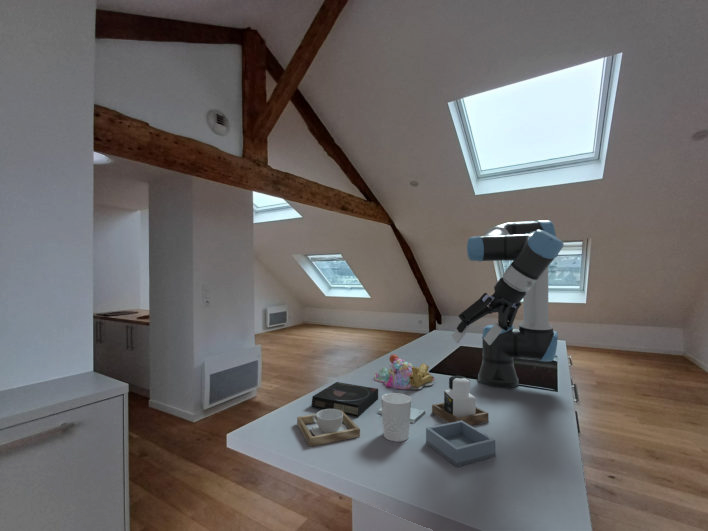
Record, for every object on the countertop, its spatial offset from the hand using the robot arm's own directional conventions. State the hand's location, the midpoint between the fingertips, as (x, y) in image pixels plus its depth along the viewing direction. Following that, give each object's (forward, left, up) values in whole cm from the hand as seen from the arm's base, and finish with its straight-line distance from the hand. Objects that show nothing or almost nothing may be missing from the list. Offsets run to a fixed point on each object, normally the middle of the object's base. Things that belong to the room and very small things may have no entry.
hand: (471, 340), depth 98 cm
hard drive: (+16, -13, -24) cm, 32 cm away
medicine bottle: (+1, -4, -24) cm, 24 cm away
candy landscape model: (-2, -41, -24) cm, 48 cm away
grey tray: (+14, +11, -24) cm, 30 cm away
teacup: (+40, -11, -24) cm, 48 cm away
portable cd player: (+29, -27, -24) cm, 47 cm away
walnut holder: (+1, -4, -24) cm, 24 cm away
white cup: (+25, -1, -24) cm, 35 cm away
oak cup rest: (+41, -11, -24) cm, 49 cm away
